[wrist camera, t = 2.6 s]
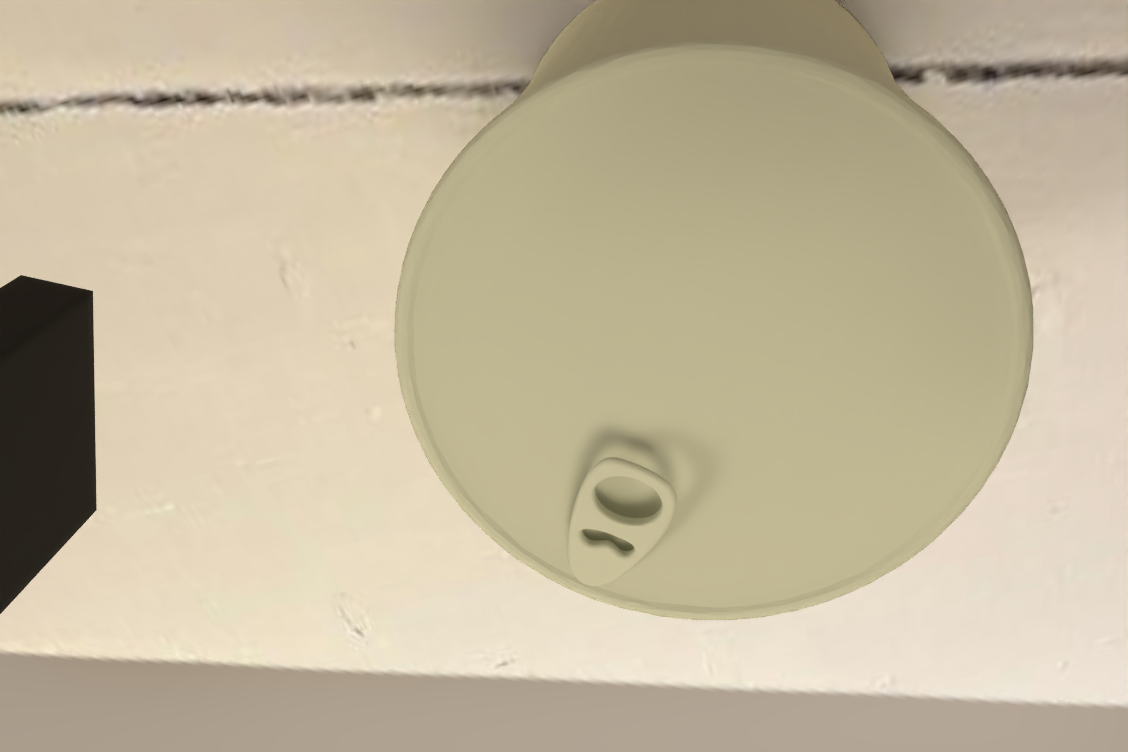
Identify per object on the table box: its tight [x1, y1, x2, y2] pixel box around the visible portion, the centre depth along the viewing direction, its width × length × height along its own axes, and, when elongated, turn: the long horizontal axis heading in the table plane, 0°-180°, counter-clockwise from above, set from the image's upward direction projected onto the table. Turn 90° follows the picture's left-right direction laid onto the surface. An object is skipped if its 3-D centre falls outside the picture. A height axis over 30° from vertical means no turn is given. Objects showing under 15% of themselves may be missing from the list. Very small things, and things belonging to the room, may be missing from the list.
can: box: [395, 0, 1033, 620], centre depth 20 cm, size 9×9×12 cm
